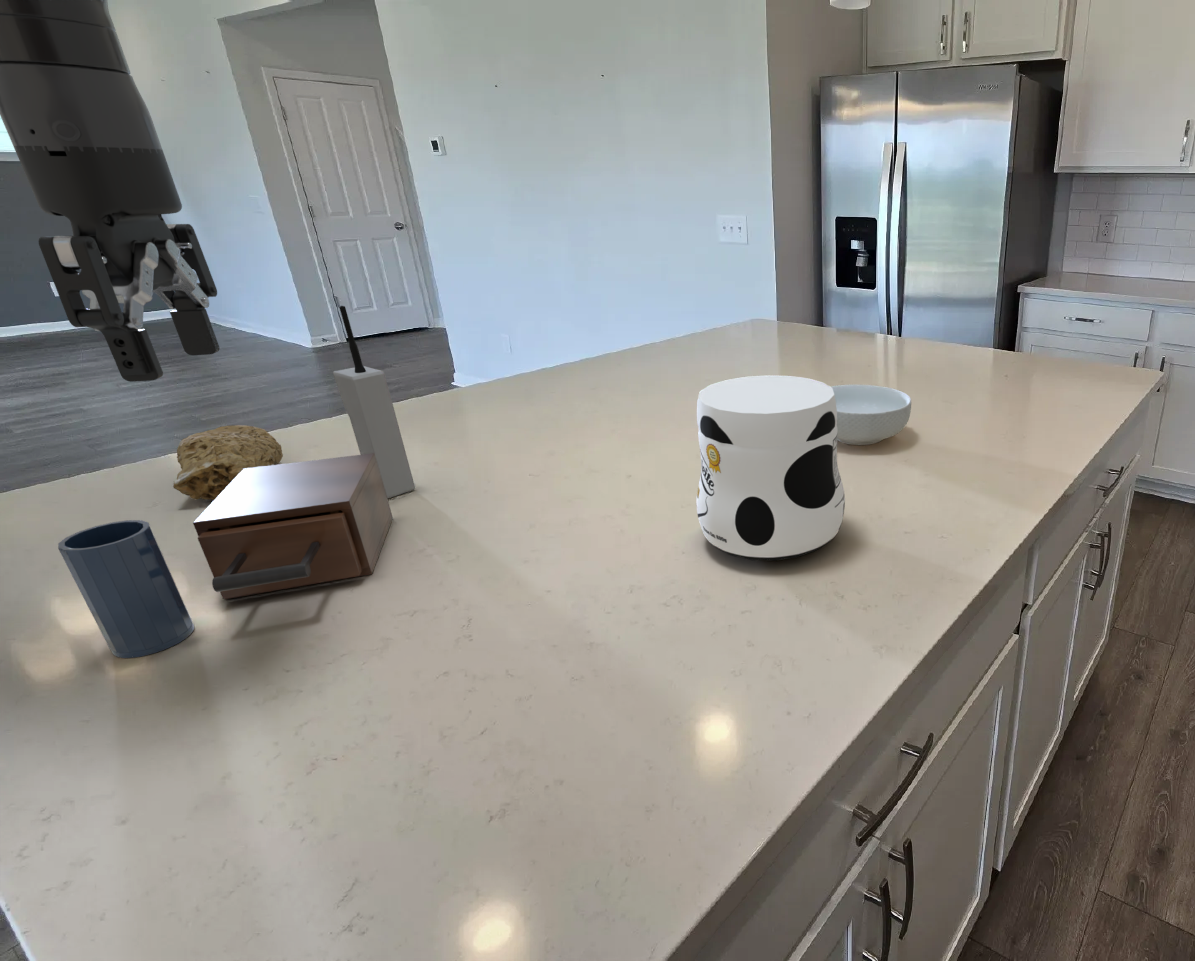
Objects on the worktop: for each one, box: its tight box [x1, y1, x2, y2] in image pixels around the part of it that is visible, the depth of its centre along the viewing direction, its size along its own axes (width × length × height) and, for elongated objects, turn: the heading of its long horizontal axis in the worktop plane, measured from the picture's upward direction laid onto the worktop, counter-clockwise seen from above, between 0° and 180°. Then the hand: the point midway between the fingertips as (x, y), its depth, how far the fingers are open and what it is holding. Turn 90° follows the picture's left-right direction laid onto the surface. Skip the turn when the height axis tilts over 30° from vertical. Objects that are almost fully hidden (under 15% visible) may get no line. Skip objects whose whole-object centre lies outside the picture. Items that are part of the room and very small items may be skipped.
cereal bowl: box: [829, 383, 912, 446], centre depth 115 cm, size 17×17×7 cm
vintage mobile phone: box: [332, 305, 416, 499], centre depth 90 cm, size 4×5×25 cm
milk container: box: [695, 374, 846, 562], centre depth 81 cm, size 17×17×18 cm
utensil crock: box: [57, 519, 195, 659], centre depth 63 cm, size 6×6×11 cm
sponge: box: [172, 424, 284, 501], centre depth 97 cm, size 13×8×20 cm
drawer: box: [197, 510, 362, 600], centre depth 73 cm, size 20×12×7 cm, turn 24°
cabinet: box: [192, 453, 394, 600], centre depth 78 cm, size 15×13×9 cm
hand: (176, 366), depth 56 cm, fingers open, 8 cm apart
